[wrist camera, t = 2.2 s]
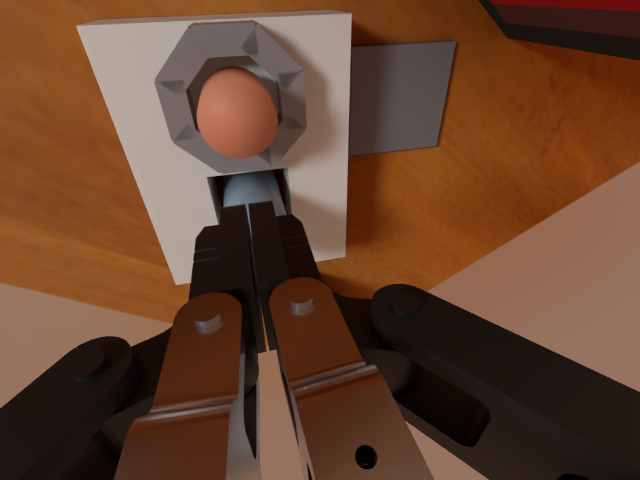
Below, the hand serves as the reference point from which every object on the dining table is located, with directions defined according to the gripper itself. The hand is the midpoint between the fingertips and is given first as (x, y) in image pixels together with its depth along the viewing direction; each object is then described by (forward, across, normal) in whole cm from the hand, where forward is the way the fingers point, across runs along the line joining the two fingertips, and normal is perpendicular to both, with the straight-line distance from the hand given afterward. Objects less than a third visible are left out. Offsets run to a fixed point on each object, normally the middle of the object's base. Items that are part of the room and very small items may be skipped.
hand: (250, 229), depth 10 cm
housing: (+21, 0, +6) cm, 22 cm away
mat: (+21, -14, +2) cm, 25 cm away
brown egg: (+14, 0, 0) cm, 14 cm away
